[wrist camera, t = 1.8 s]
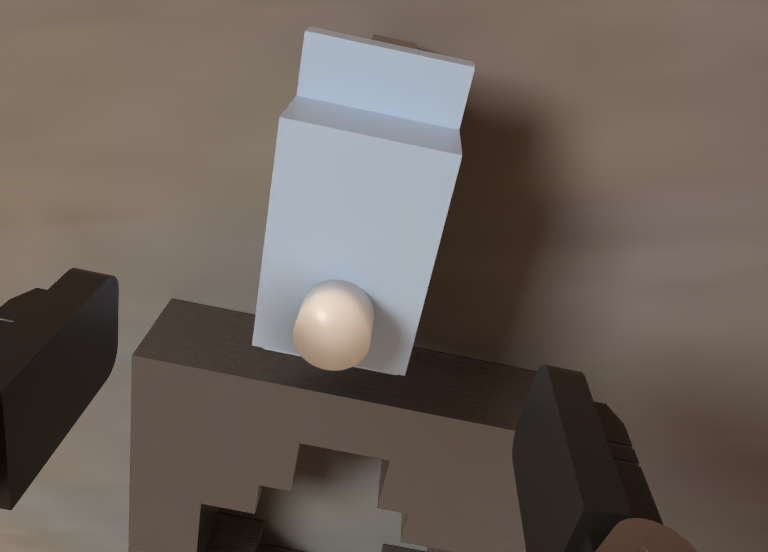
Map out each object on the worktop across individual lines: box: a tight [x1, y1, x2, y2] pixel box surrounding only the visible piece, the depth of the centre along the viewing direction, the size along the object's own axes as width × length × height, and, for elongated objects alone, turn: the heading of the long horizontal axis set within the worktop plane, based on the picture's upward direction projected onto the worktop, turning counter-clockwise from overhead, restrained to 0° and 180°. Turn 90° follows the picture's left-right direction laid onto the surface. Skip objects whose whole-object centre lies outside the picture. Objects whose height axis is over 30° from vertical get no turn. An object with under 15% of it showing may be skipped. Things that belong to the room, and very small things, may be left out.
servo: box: [252, 27, 475, 376], centre depth 18 cm, size 9×4×7 cm, turn 169°
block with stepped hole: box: [129, 299, 537, 552], centre depth 26 cm, size 16×14×4 cm
